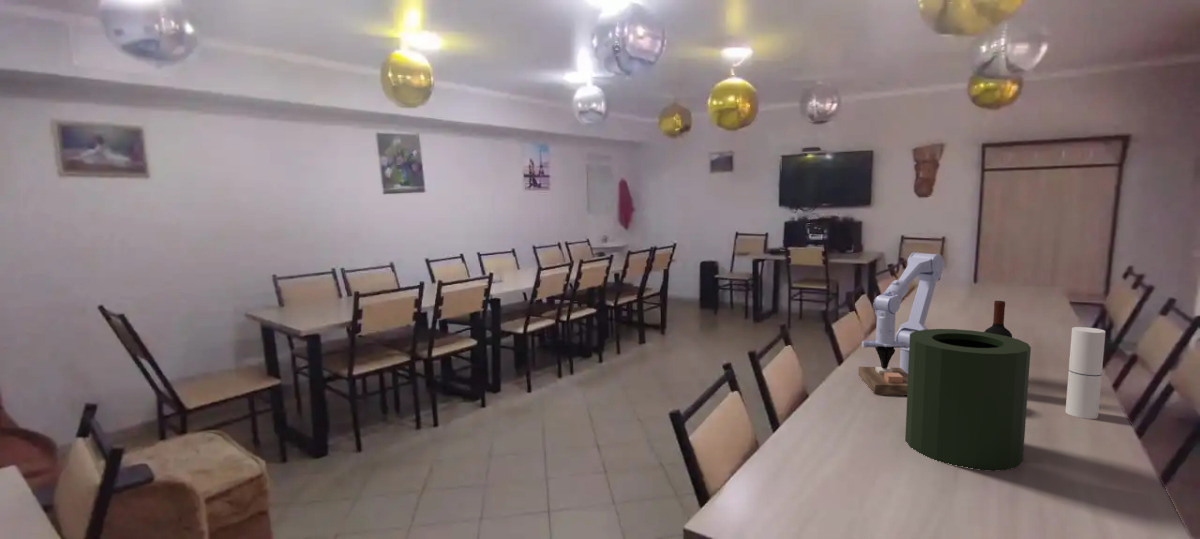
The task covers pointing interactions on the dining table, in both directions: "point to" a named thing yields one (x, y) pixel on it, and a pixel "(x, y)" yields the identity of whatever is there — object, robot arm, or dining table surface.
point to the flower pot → (967, 397)
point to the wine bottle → (999, 320)
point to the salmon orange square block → (893, 377)
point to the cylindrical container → (1085, 372)
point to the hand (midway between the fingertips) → (884, 367)
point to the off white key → (883, 370)
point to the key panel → (883, 381)
